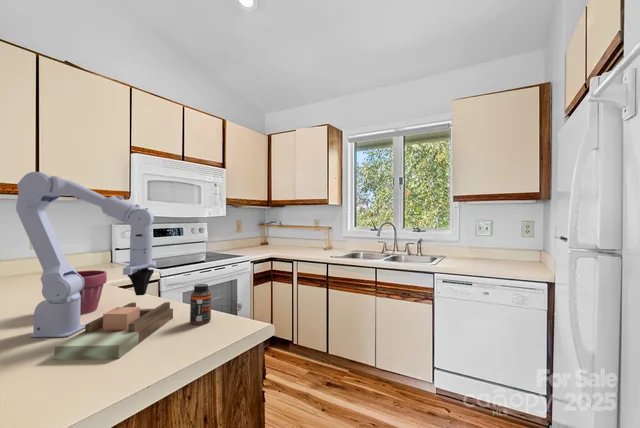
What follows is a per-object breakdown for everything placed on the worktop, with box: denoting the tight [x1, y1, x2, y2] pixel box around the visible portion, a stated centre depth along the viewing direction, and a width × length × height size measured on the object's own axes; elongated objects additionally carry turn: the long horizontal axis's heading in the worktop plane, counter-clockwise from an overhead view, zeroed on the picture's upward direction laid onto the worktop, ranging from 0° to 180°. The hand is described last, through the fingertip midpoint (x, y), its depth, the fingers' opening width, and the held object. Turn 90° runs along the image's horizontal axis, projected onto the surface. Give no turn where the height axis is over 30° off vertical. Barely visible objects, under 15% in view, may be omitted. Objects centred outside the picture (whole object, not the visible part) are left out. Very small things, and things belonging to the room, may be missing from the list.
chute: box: [53, 301, 174, 361], centre depth 82 cm, size 14×28×5 cm, turn 3°
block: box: [102, 306, 141, 330], centre depth 81 cm, size 6×6×4 cm
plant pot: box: [76, 269, 108, 316], centre depth 102 cm, size 14×14×13 cm
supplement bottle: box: [189, 283, 212, 325], centre depth 93 cm, size 6×6×11 cm
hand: (140, 294), depth 90 cm, fingers closed
